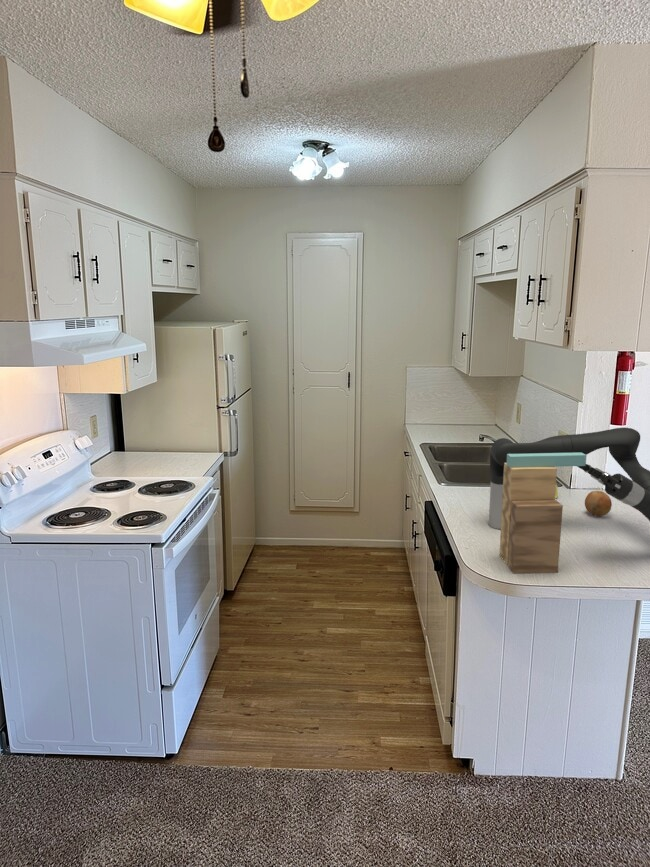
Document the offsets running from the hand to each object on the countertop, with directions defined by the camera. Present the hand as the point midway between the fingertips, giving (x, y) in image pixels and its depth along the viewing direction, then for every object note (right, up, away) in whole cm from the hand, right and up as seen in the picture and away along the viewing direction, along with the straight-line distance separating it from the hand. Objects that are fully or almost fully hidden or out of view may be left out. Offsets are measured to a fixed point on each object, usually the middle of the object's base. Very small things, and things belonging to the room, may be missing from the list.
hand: (583, 466), depth 189 cm
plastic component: (+8, -17, +72) cm, 74 cm away
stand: (-17, -31, +6) cm, 36 cm away
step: (-17, -33, -1) cm, 37 cm away
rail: (-12, 0, 0) cm, 12 cm away
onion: (+25, -22, +46) cm, 57 cm away
